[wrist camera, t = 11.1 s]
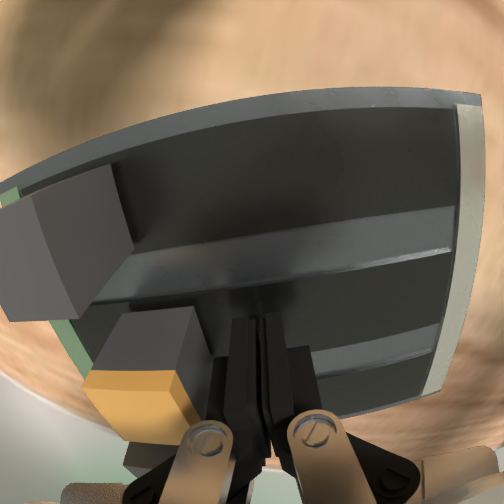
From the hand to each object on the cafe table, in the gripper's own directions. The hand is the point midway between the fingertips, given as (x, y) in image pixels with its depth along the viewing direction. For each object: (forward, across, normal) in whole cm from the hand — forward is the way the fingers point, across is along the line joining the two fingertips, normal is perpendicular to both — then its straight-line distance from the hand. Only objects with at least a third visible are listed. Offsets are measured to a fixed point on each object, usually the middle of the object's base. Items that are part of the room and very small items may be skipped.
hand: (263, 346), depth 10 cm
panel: (+3, 0, 0) cm, 3 cm away
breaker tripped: (+1, +4, 0) cm, 4 cm away
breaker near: (+1, +5, -6) cm, 8 cm away
